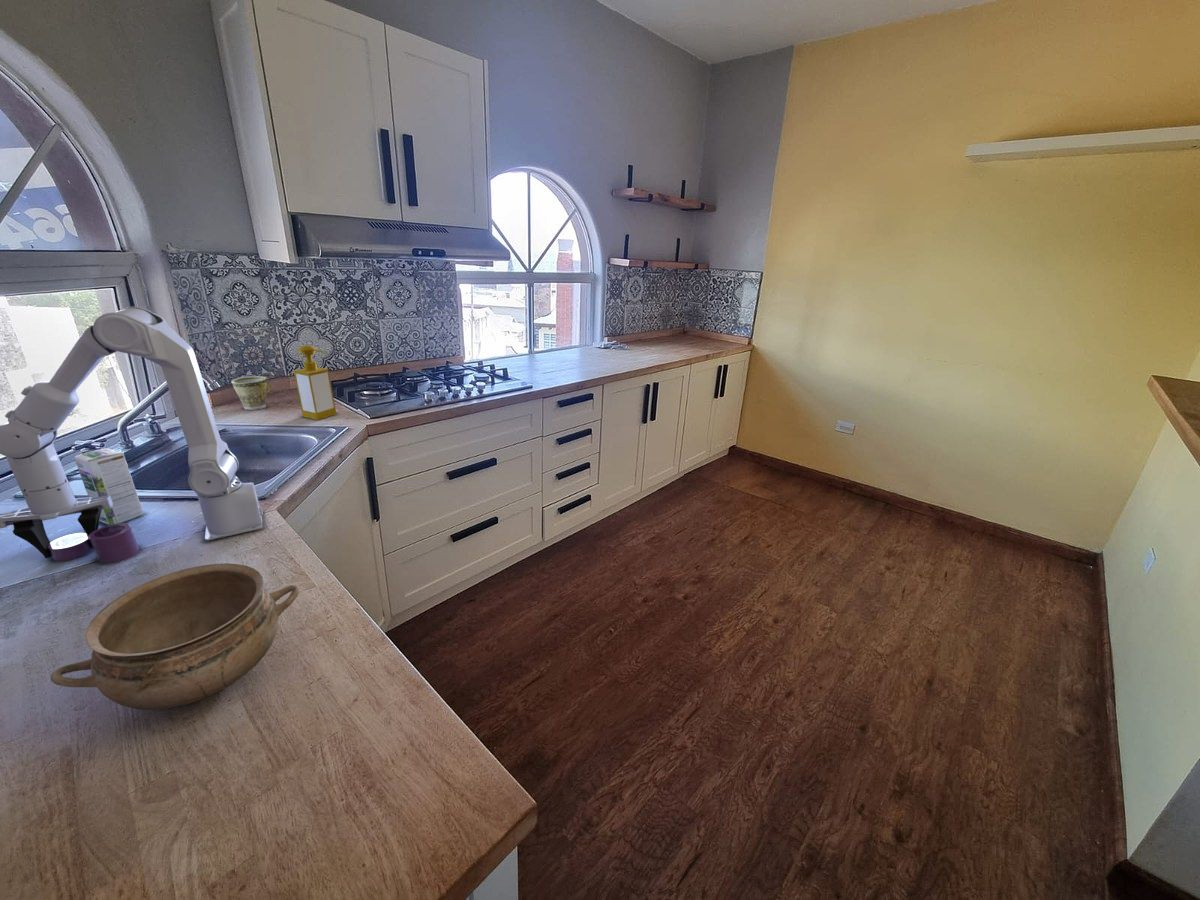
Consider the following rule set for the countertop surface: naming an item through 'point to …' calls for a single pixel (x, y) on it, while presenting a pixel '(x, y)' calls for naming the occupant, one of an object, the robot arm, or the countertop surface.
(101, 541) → the dish middle
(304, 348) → the soap bottle
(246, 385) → the ceramic cup
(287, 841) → the countertop surface
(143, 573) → the countertop surface
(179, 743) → the countertop surface
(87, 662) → the cooking pot
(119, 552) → the dish bottom
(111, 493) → the syrup box
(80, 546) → the dish top
